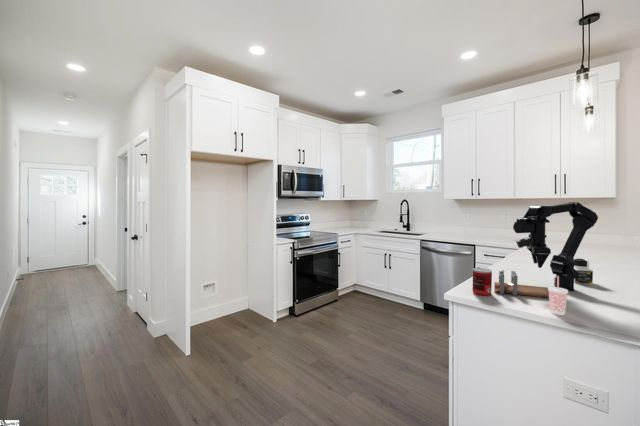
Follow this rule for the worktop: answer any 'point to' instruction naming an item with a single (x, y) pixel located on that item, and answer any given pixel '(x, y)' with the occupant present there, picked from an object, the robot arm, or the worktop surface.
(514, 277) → the collar
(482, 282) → the canned food
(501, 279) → the collar
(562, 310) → the beverage cup
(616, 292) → the worktop surface
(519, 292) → the brown wooden rod
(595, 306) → the worktop surface
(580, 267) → the medicine bottle
